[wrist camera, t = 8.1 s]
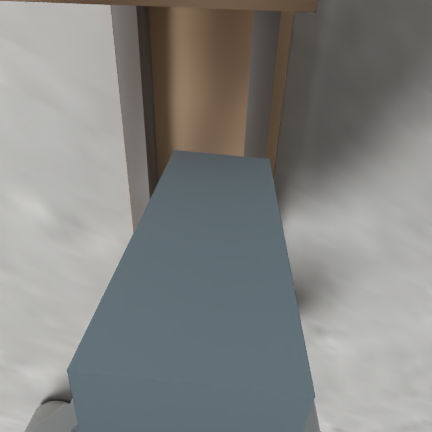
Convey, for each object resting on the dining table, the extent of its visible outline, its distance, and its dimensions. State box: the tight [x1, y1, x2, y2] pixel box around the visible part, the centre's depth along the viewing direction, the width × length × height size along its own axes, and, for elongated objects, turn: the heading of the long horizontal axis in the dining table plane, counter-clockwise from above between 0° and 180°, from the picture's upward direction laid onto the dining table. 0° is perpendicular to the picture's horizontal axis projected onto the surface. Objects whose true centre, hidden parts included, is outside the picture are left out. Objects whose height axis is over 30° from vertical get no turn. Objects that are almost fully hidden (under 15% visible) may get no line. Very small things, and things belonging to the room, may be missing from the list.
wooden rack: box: [0, 0, 317, 232], centre depth 17 cm, size 8×24×10 cm, turn 178°
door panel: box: [67, 150, 315, 432], centre depth 10 cm, size 4×10×8 cm, turn 176°
